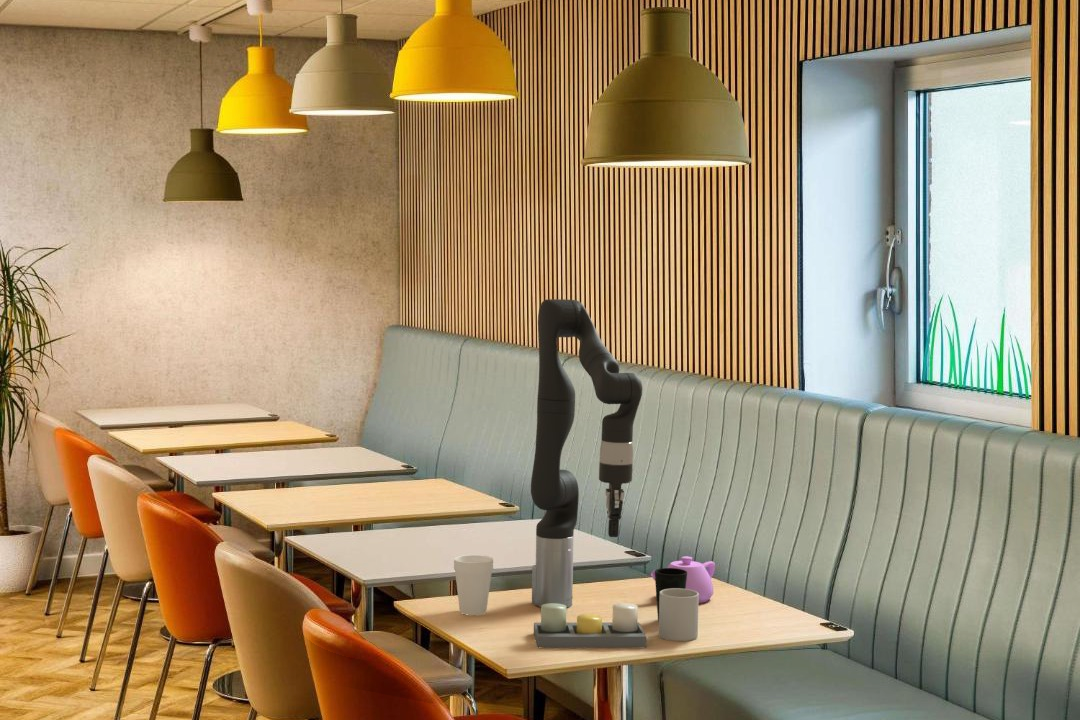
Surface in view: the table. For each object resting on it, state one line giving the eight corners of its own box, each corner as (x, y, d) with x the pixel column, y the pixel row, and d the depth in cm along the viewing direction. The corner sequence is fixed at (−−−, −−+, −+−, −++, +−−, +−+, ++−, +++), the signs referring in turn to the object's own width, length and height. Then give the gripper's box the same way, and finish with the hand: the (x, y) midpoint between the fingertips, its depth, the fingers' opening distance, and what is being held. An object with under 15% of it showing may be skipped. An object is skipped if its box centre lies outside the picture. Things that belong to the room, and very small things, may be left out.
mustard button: (577, 642, 303) (578, 620, 302) (575, 636, 308) (575, 614, 308) (602, 642, 303) (603, 620, 303) (600, 635, 309) (600, 614, 308)
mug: (670, 642, 305) (671, 598, 304) (650, 632, 313) (651, 589, 313) (712, 638, 309) (713, 594, 308) (691, 628, 318) (692, 585, 317)
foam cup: (483, 618, 323) (484, 564, 322) (447, 615, 326) (448, 561, 325) (497, 609, 332) (498, 556, 331) (462, 605, 335) (463, 553, 334)
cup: (684, 626, 319) (685, 575, 318) (651, 624, 320) (652, 573, 320) (687, 618, 326) (688, 568, 326) (655, 616, 328) (656, 567, 327)
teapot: (635, 597, 347) (636, 556, 346) (696, 589, 358) (697, 548, 357) (668, 609, 335) (669, 566, 335) (731, 600, 346) (732, 558, 345)
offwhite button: (613, 631, 303) (614, 609, 303) (610, 625, 308) (611, 603, 308) (639, 631, 303) (639, 609, 303) (635, 625, 309) (636, 603, 309)
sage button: (541, 631, 302) (542, 609, 302) (540, 625, 307) (540, 603, 307) (567, 631, 302) (567, 609, 302) (564, 625, 308) (565, 603, 308)
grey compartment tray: (537, 647, 299) (537, 636, 299) (533, 633, 311) (533, 622, 311) (646, 647, 300) (646, 636, 300) (638, 633, 312) (638, 622, 312)
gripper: (635, 465, 303) (632, 543, 305) (629, 456, 316) (626, 530, 318) (601, 464, 303) (598, 542, 304) (597, 455, 316) (594, 530, 317)
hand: (613, 536), depth 311 cm, fingers closed
